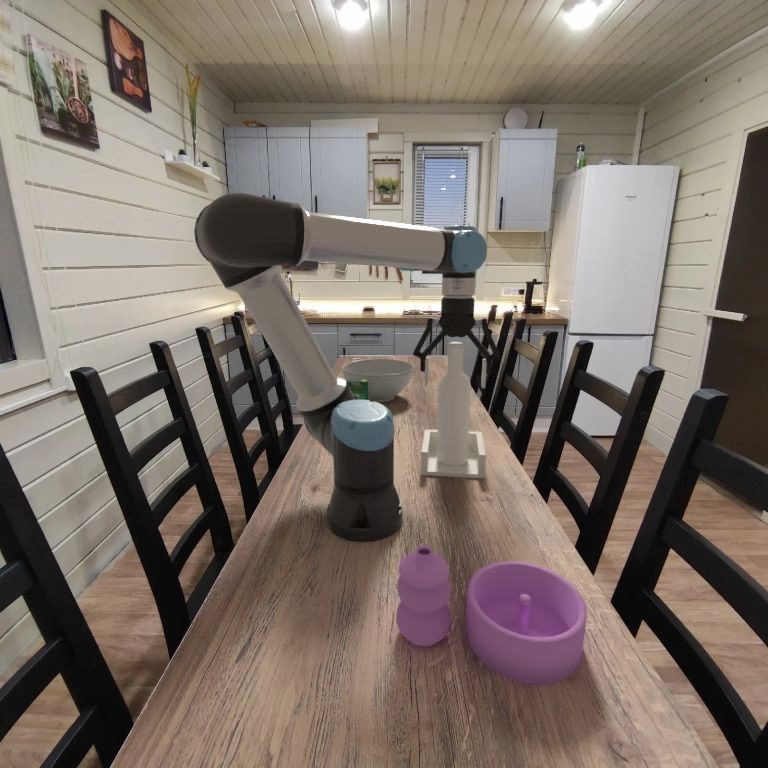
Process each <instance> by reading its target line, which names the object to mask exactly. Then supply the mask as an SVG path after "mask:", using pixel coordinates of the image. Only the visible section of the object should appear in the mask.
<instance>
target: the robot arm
mask: <svg viewBox="0 0 768 768" xmlns="http://www.w3.org/2000/svg"><path fill="white" fill-rule="evenodd" d="M193 231H194V233H193V234H194V242H195V244H196V247H197V249H198V251H199V253H200V254H201V256H202V257H203V258H204V259H205V260H206V261H207V262H208V263H210V264H211V265H210V266H211V267H212V268H213V270H214V273H216V275H217V277H218V278H219V279H220V282H221V283H222V285H223V286H224V288H225V290H227V291H231V292H234V293H237V294H238V295H239V297H240V299H241V300H242V302H243V304H244V306H245V308H247V310H248V312H249V313H250V316H251V317H252V319H253V321H254V322H255V324H256V326H257V328H258V329H259V332H261V334H262V336H263V338H264V339H265V341H266V343H267V344H268V346H269V348H270V349H271V351H272V353H273V355H274V356H275V358H276V360H277V361H278V363H279V365H280V367H281V369H282V371H283V372H284V373H285V375H286V377H287V379H288V380H289V382H290V384H291V385H292V386H293V389H294V390H295V392H296V394H297V396H298V398H297V400H296V408H297V410H298V412H299V413H300V415H301V416H302V419H303V423H304V425H305V429H306V430H307V432H308V433H309V435H310V436H311V437H312V438H314V439H315V440H316V441H317V442H318V443H319V444H320V445H321V446H322V447H323V448H324V449H325V450H326V451H327V452H328V453H329V454H330V456H332V459H333V461H332V462H333V464H332V465H333V478H334V479H333V481H334V484H333V489H332V493H331V497H330V501H329V502H328V503H329V504H328V506H327V508H326V525H327V527H328V529H329V530H330V532H332V533H333V534H335V535H336V536H338V537H340V538H342V539H345V540H349V541H354V542H371V541H376V540H381V539H385V538H387V537H389V536H391V535H393V534H394V533H396V532H397V531H398V530H399V528H401V526H402V524H403V521H404V520H403V517H404V516H403V515H404V514H403V512H404V511H403V507H402V506H403V505H402V503H401V501H400V497H399V495H398V492H397V489H396V486H395V480H394V479H395V478H394V476H395V475H394V474H395V468H394V467H395V465H394V464H395V453H394V452H395V433H396V431H395V425H394V417H393V414H392V412H391V410H390V409H389V408H388V407H387V406H385V405H384V404H382V403H381V402H370V400H360V399H359V400H356V399H355V397H354V395H353V393H352V391H351V390H350V388H349V386H348V384H347V382H346V380H345V377H344V378H343V377H340V376H336V375H335V373H334V371H333V370H332V367H331V366H330V364H329V361H327V360H328V359H327V358H326V357H325V354H324V353H323V350H322V349H321V347H320V345H319V343H318V342H317V340H316V337H315V335H314V334H313V332H312V330H311V328H310V327H309V325H308V322H307V321H306V319H305V317H304V315H303V314H302V311H301V310H300V307H299V306H298V304H297V303H296V300H295V298H294V297H293V294H292V293H291V291H290V288H289V287H288V286H287V284H286V282H285V280H284V278H283V276H282V274H281V269H282V266H287V267H288V266H289V267H298V266H299V265H301V264H302V263H303V262H304V261H306V262H307V261H309V262H318V263H320V262H321V263H334V264H335V263H336V264H346V265H347V264H349V265H360V266H362V265H363V266H374V267H386V268H387V267H388V268H390V267H391V268H397V269H398V270H400V271H403V272H406V271H407V272H420V271H421V272H441V274H442V275H441V295H442V296H443V297H442V298H441V303H440V304H441V305H440V306H441V307H440V308H441V309H440V311H441V312H440V317H439V318H436V317H432V316H429V317H428V318H427V322H426V327H425V329H424V331H423V333H422V335H421V336H420V338H419V341H418V342H417V344H416V347H415V348H414V350H413V353H412V355H413V357H417V358H419V359H420V367H419V369H420V372H421V373H424V387H428V386H429V376H430V375H429V372H430V371H429V365H430V364H429V363H430V357H428V356H429V355H430V353H431V352H432V351H434V349H435V348H436V346H437V345H439V343H440V342H441V341H442V340H443V339H444V338H445V337H446V336H448V337H449V338H457V337H458V338H465V337H468V339H469V340H470V341H471V342H472V343H473V345H474V346H475V347H476V349H478V350H479V352H480V353H481V354H482V356H483V357H484V358H482V364H481V365H482V367H481V382H480V383H481V384H480V385H481V389H486V382H487V381H486V379H487V378H486V377H487V374H489V375H490V374H491V373H492V372H491V371H492V361H493V360H495V359H499V358H500V357H501V355H500V352H499V350H498V348H497V345H496V344H495V341H494V339H493V337H492V334H491V332H490V330H489V327H488V326H489V325H488V324H489V323H488V319H487V318H486V317H482V318H475V316H474V315H475V298H474V297H473V296H474V295H475V293H476V274H477V273H476V271H477V270H479V269H480V268H481V267H482V266H483V264H484V263H485V261H486V258H487V254H488V245H487V241H486V239H485V237H484V236H483V235H482V234H481V233H480V232H479V231H478V230H477V228H476V227H475V226H472V225H447V226H445V227H444V228H436V227H430V226H429V227H428V226H421V225H413V224H406V223H398V222H390V221H383V220H377V219H376V220H375V219H373V220H372V219H369V218H368V219H365V218H357V217H351V216H343V215H336V214H335V215H334V214H327V213H320V212H312V211H306V209H305V208H304V207H303V205H302V204H301V203H296V202H291V201H290V202H289V201H284V200H279V199H273V198H269V197H265V196H264V197H263V196H260V195H255V194H250V193H244V192H243V193H242V192H231V193H225V194H223V195H221V196H219V197H217V198H215V199H214V200H213V201H212V202H211V203H209V204H208V205H206V206H205V207H203V209H201V211H200V212H199V214H198V216H197V217H196V220H195V223H194V230H193ZM437 324H438V325H439V326H440V327H441V329H442V330H440V332H439V333H438V335H436V337H435V338H434V339H433V340H432V341H431V342H430V343H429V344H428V345H427V346H426V348H425V349H424V350H423V351H421V350H422V348H423V346H424V344H425V343H426V341H427V338H428V336H429V335H430V332H431V330H432V329H433V328H435V327H436V325H437ZM475 325H478V328H480V329H482V331H483V334H484V336H485V338H486V341H487V343H488V345H489V347H490V350H491V353H490V352H489V351H488V349H487V348H486V347H485V346H484V345H483V344H482V342H481V341H480V340H479V338H478V337H477V336H476V335H475V334H474V332H473V331H472V329H473V328H474V327H475Z"/></svg>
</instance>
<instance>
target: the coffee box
mask: <svg viewBox="0 0 768 768" xmlns="http://www.w3.org/2000/svg"><path fill="white" fill-rule="evenodd" d="M346 382H347V384H348V386H349V388H350V390H351V391H352V393H353V395H354V397H355V399H356V400H359V399H360V400H368V381H367V380H346Z"/></svg>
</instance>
